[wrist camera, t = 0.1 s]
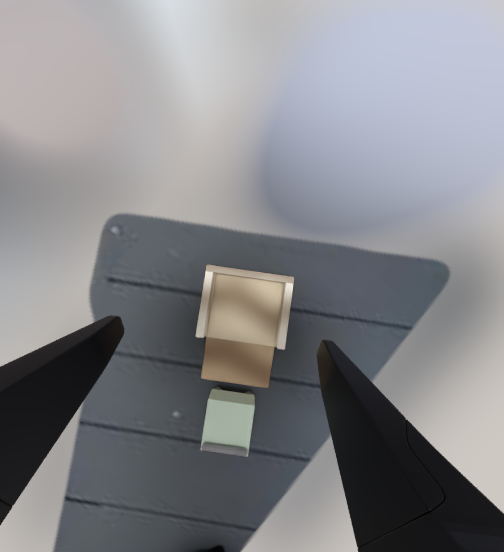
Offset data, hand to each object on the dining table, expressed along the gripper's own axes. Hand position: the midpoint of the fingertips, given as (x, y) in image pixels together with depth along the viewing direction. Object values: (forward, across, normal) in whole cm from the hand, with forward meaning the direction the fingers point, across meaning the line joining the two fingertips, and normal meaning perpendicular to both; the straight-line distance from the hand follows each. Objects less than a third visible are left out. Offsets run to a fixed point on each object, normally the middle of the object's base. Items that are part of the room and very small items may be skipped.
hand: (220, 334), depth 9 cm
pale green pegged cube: (+6, 0, +18) cm, 19 cm away
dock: (+12, -1, +10) cm, 16 cm away
